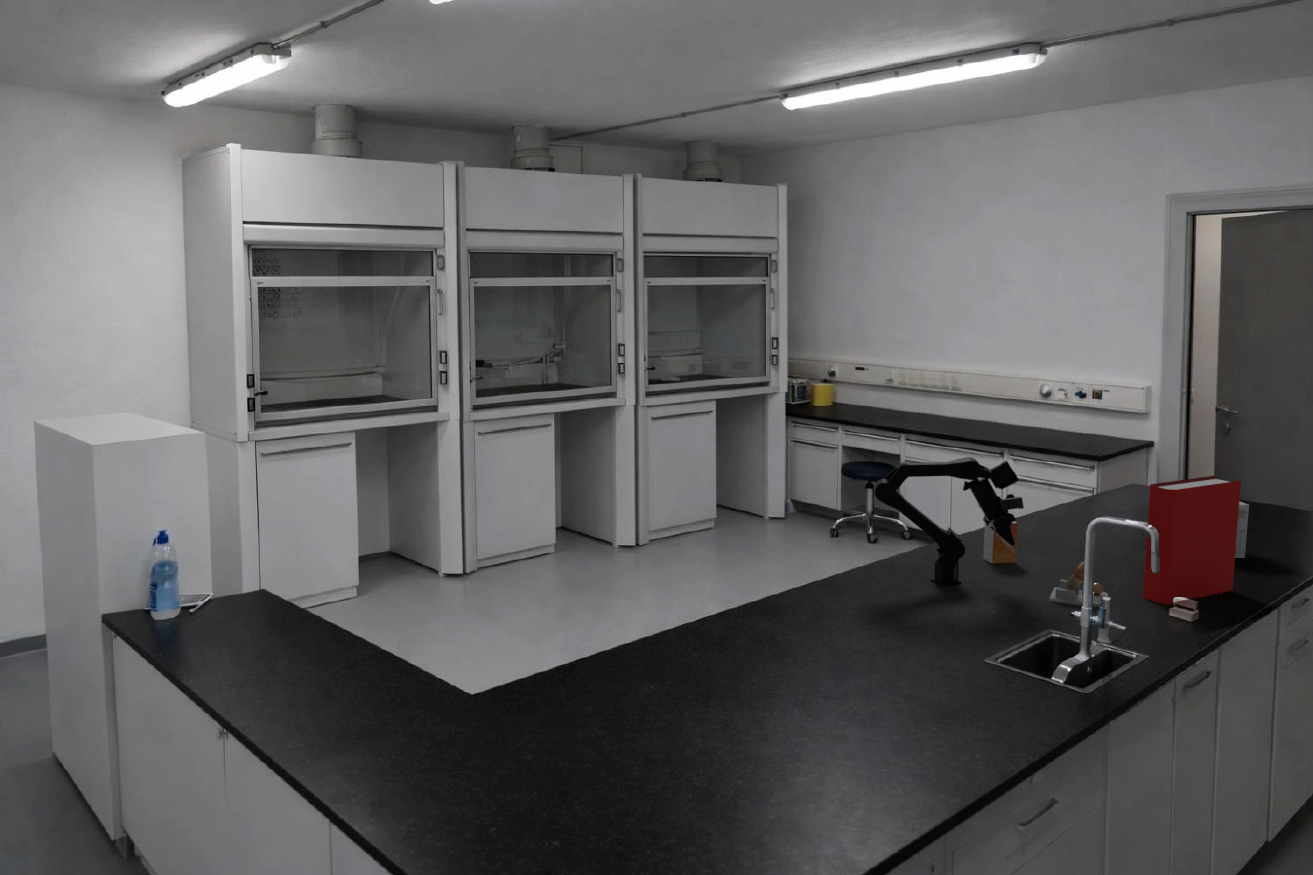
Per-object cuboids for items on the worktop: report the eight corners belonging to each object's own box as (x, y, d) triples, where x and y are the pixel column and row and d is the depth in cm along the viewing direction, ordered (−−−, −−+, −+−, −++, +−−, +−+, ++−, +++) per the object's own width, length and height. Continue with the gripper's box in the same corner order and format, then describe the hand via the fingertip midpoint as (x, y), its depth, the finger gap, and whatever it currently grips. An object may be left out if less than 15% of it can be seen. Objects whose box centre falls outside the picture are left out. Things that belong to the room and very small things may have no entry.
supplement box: (1246, 559, 316) (1250, 504, 313) (1203, 559, 317) (1207, 505, 314) (1223, 547, 329) (1227, 495, 327) (1182, 548, 330) (1186, 496, 327)
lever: (1059, 591, 279) (1080, 564, 275) (1062, 585, 285) (1083, 558, 281) (1069, 599, 278) (1091, 572, 274) (1072, 592, 283) (1094, 566, 280)
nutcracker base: (1049, 601, 278) (1050, 582, 278) (1054, 590, 288) (1055, 572, 287) (1104, 608, 272) (1105, 589, 271) (1107, 597, 281) (1109, 578, 280)
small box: (992, 564, 314) (993, 523, 312) (982, 558, 321) (984, 519, 319) (1016, 563, 316) (1018, 522, 313) (1006, 557, 322) (1008, 517, 320)
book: (1206, 583, 292) (1214, 475, 287) (1232, 590, 285) (1241, 480, 280) (1139, 596, 281) (1146, 484, 276) (1164, 604, 274) (1172, 490, 269)
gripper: (1018, 485, 281) (1046, 535, 280) (1005, 483, 299) (1032, 529, 298) (981, 504, 282) (1009, 553, 281) (971, 500, 301) (997, 546, 300)
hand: (1013, 545), depth 290 cm, fingers closed
